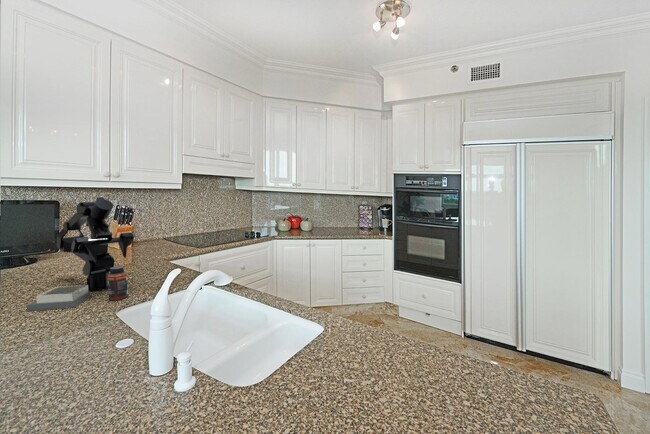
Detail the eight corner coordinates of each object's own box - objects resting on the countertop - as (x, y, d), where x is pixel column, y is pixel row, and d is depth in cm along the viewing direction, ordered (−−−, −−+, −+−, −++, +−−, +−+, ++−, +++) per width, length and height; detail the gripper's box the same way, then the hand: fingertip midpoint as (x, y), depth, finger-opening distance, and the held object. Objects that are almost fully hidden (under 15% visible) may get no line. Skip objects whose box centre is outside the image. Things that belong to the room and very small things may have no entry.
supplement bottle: (132, 295, 112) (130, 265, 111) (120, 301, 106) (118, 269, 105) (117, 294, 113) (115, 265, 112) (104, 300, 107) (102, 269, 106)
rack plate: (91, 296, 111) (90, 284, 111) (74, 307, 100) (73, 294, 100) (49, 299, 108) (48, 287, 108) (27, 311, 97) (25, 297, 97)
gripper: (120, 237, 128) (133, 267, 123) (64, 243, 113) (75, 277, 108) (127, 220, 123) (141, 250, 117) (69, 224, 108) (81, 259, 102)
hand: (111, 259), depth 111 cm, fingers open, 9 cm apart
